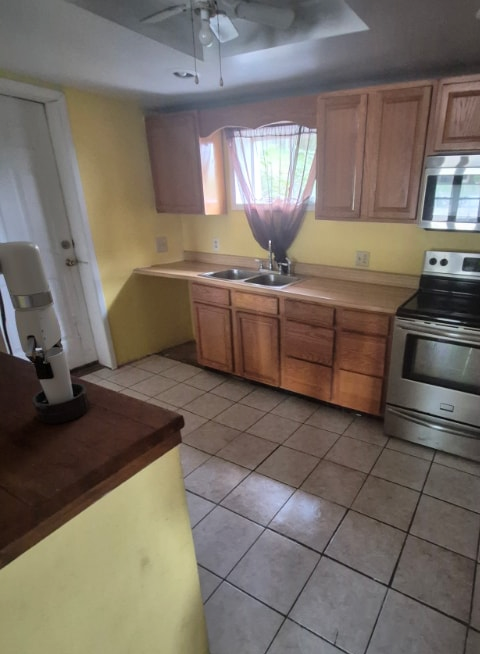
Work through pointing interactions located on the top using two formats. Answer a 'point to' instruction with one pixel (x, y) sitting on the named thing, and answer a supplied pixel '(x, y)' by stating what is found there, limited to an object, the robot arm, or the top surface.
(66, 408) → the bowl
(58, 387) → the drinking glass
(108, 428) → the top surface
